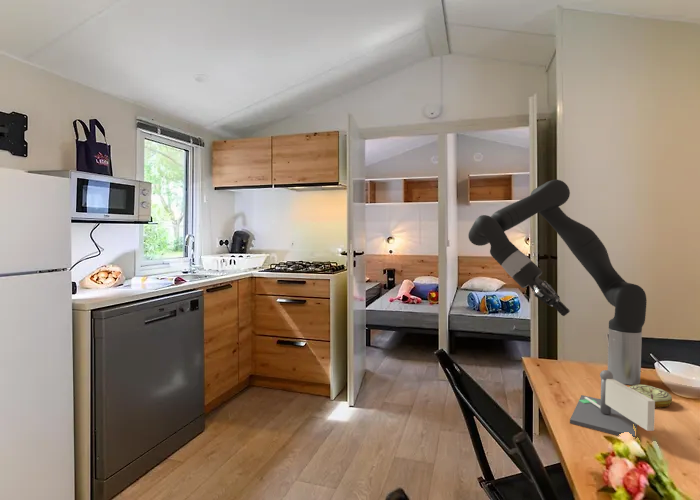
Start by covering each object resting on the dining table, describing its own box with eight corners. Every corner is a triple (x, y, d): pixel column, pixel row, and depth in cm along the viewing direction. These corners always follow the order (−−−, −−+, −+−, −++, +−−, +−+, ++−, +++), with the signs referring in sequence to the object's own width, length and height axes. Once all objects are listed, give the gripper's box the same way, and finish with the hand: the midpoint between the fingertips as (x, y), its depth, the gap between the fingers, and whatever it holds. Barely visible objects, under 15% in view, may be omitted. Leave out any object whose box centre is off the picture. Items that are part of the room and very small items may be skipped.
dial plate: (581, 398, 119) (581, 394, 119) (638, 411, 111) (638, 406, 111) (569, 423, 104) (569, 418, 104) (635, 440, 95) (635, 435, 95)
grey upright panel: (580, 398, 116) (581, 360, 115) (590, 398, 116) (591, 360, 116) (643, 442, 92) (645, 393, 91) (656, 442, 92) (658, 393, 91)
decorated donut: (618, 397, 121) (618, 385, 120) (642, 392, 124) (642, 380, 124) (654, 411, 111) (655, 398, 111) (679, 406, 114) (680, 393, 114)
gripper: (517, 275, 126) (560, 318, 119) (505, 279, 115) (551, 326, 108) (536, 259, 122) (581, 302, 115) (525, 261, 112) (574, 309, 105)
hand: (566, 313), depth 112 cm, fingers closed
